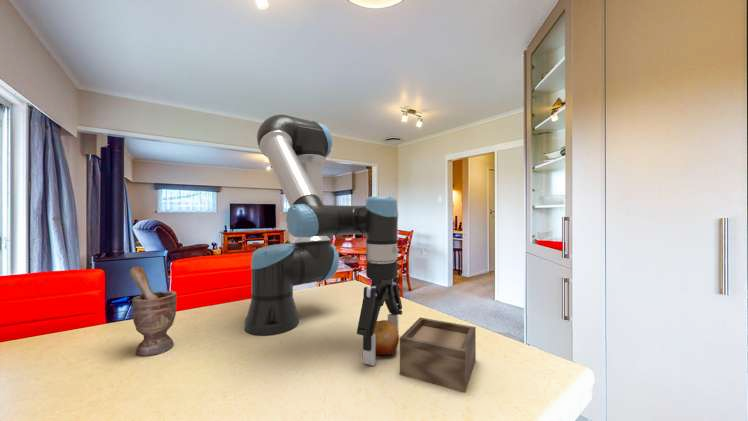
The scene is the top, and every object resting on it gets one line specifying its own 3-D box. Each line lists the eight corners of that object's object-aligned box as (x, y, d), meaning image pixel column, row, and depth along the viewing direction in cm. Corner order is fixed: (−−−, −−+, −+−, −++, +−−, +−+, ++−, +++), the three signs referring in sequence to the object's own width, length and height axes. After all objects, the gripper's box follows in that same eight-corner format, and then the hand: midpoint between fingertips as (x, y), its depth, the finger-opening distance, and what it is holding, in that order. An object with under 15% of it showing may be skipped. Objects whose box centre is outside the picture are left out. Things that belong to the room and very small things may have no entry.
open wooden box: (399, 374, 59) (399, 337, 59) (420, 348, 71) (419, 317, 71) (465, 392, 53) (465, 351, 53) (475, 360, 65) (475, 326, 65)
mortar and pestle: (108, 359, 66) (108, 270, 66) (136, 342, 74) (137, 264, 74) (161, 357, 66) (161, 270, 67) (183, 340, 75) (184, 263, 75)
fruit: (399, 335, 74) (398, 315, 70) (398, 365, 68) (398, 344, 64) (368, 334, 75) (366, 313, 71) (364, 363, 68) (362, 342, 64)
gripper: (372, 271, 57) (372, 381, 56) (414, 255, 78) (414, 334, 78) (340, 268, 60) (340, 372, 60) (388, 253, 82) (389, 329, 82)
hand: (382, 351), depth 69 cm, fingers open, 12 cm apart
